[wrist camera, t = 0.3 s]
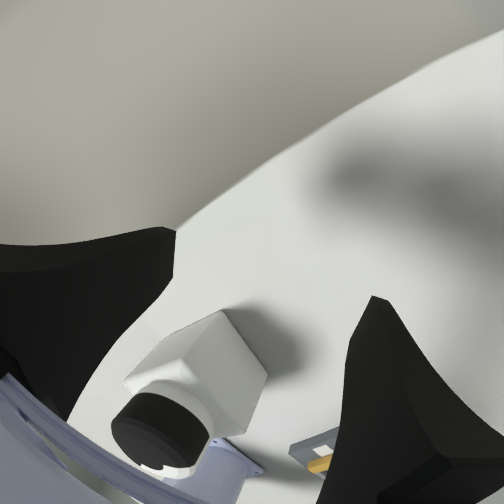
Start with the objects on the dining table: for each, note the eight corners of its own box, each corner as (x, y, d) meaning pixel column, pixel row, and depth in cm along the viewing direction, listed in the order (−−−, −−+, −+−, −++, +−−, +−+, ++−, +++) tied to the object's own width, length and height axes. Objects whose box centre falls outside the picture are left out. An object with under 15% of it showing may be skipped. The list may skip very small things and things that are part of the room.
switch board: (377, 506, 27) (376, 518, 25) (290, 445, 27) (286, 461, 25) (477, 463, 22) (480, 476, 20) (424, 383, 21) (428, 400, 19)
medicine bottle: (164, 336, 26) (82, 421, 15) (222, 307, 24) (138, 411, 13) (209, 393, 27) (150, 487, 16) (270, 374, 24) (223, 491, 13)
